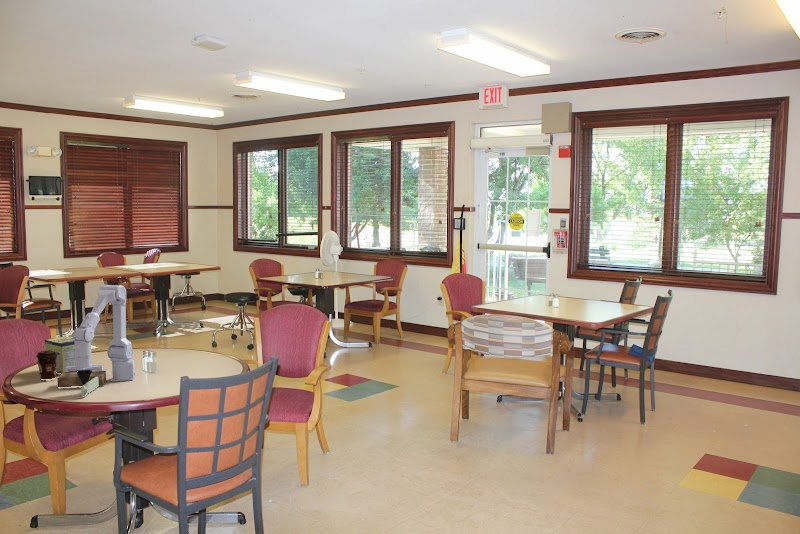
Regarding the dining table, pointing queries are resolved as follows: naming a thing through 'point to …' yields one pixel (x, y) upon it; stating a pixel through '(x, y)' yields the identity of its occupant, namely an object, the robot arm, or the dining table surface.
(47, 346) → the protein box
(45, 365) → the coffee cup
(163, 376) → the dining table surface
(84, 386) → the pale green bar
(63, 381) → the walnut box
